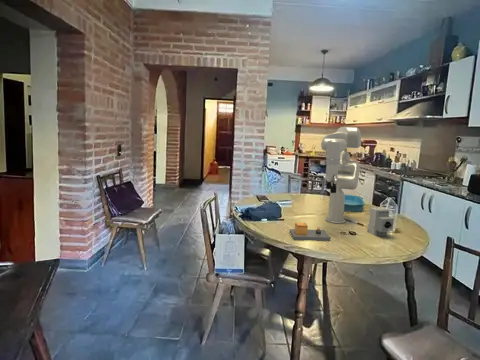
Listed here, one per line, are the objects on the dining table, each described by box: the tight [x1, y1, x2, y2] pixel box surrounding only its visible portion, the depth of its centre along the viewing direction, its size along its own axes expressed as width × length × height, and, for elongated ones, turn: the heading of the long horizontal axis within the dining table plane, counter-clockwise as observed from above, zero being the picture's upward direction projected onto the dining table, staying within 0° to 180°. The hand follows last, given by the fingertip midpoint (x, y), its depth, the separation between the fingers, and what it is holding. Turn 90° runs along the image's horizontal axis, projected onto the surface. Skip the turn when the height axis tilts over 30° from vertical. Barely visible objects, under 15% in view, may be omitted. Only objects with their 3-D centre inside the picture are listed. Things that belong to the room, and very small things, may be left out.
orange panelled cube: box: [294, 222, 309, 235], centre depth 195 cm, size 6×6×5 cm
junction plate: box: [289, 226, 331, 242], centre depth 196 cm, size 14×20×6 cm
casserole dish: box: [344, 193, 366, 213], centre depth 271 cm, size 37×22×7 cm, turn 168°
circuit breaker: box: [366, 206, 395, 237], centre depth 202 cm, size 8×14×15 cm, turn 16°
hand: (331, 190), depth 202 cm, fingers open, 9 cm apart
